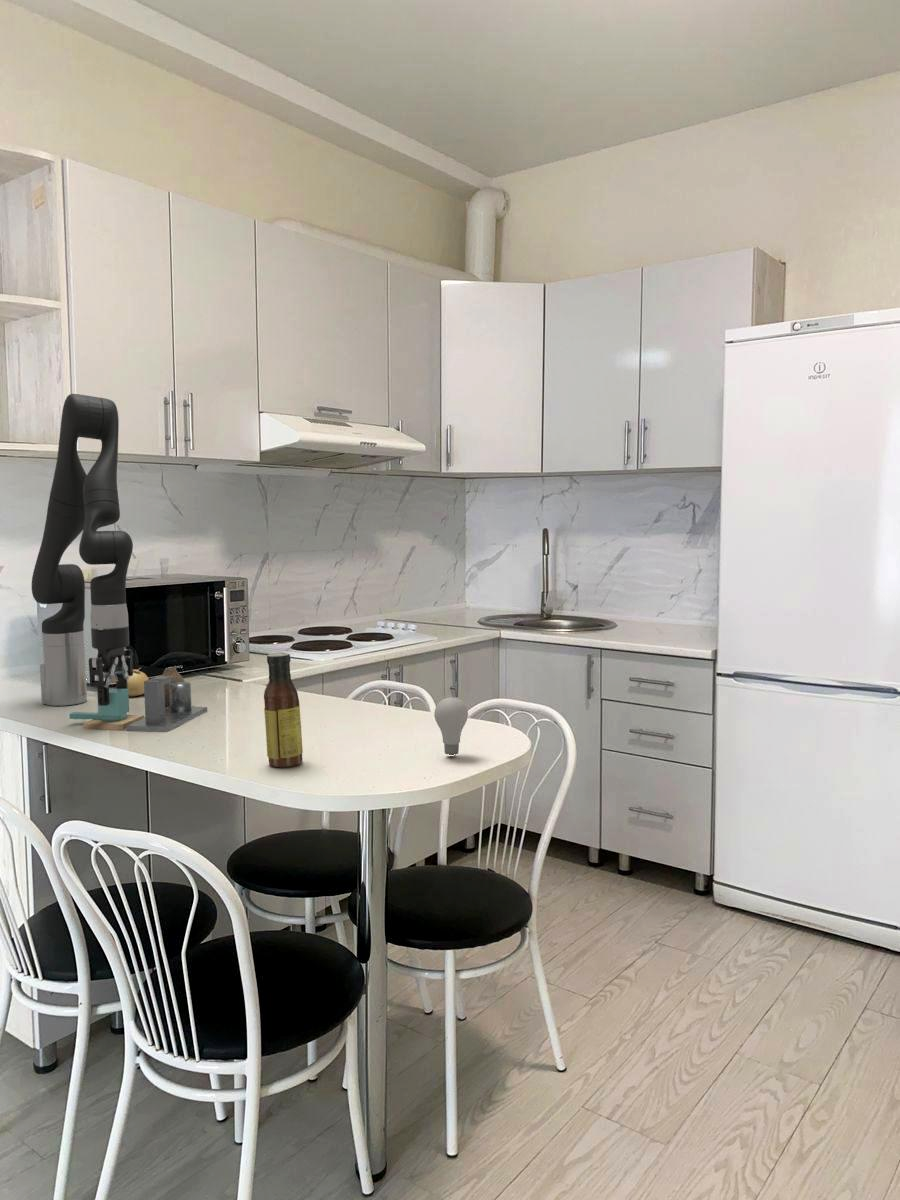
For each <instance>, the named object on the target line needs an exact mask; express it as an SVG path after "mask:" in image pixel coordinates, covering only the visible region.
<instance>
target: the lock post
mask: <svg viewBox="0 0 900 1200" xmlns="http://www.w3.org/2000/svg"><path fill="white" fill-rule="evenodd" d="M148 679H149V680H146V681H144V694H143V695H144V718H143V719H141V720H139V721H136V722H134V723H132V724H130V725H128V726H126V727H127V729H126V731H127V732H128V731H130V732H159V733H160V732H163V733H164V732H165V733H168V732H170V731H172V730H173V729H175V728H178V727H179V726H181V725H183V724H185V723H187V722H189V721H191V720H193V719H195V718H197V717H199V716H201V715H203V714H205V713H207V712H208V706H192V692H191V691H192V689H191V686H192V685H191V682H188V681H185V682H175V683H171V684H169V693H170V706H169V707H168V706H165V692H164V685H165V684H167V683H170V682H172V677H171V676H162V675H157V676H155V677H152V678H148Z"/></svg>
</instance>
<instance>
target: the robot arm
mask: <svg viewBox="0 0 900 1200" xmlns="http://www.w3.org/2000/svg"><path fill="white" fill-rule="evenodd" d="M119 421H120V420H119V411H118V408H117V405H116V403H115V402H114V401H113V400H111V399H109V398H106V397H105V398H104V397H98V396H94V395H93V396H92V395H85V394H79V393H70V394H68V395H67V396H66V398H65V401H64V402H63V406H62V412H61V419H60V428H59V440H58V447H57V448H58V450H57V457H56V463H55V467H54V468H55V469H54V473H53V479H52V483H51V488H50V492H49V498H48V502H47V503H48V504H47V510H46V516H45V517H46V518H45V523H44V524H45V525H44V528H43V529H44V530H43V534H42V538H41V539H42V540H41V544H40V548H39V552H38V554H37V557H36V561H35V565H34V569H33V572H32V576H31V594H32V598H33V599H34V600H35V602H36V603H38V604H41V605H55V604H56V605H58V604H61V608H60V609H59V611H58V612H56V613H55V614H53V615H52V616H49V617H48V618H45V619H44V620H42V623H41V637H42V639H41V640H42V655H43V657H42V658H43V663H41V664H40V665H39V671H40V672H39V674H40V693H41V704H42V705H47V706H71V705H77V704H83V703H86V702H87V701H88V691H87V672H86V670H87V669H86V653H85V651H86V650H85V649H86V647H85V633H84V622H85V617H86V616H85V615H86V607H85V605H86V584H85V576H84V572H83V570H82V569H81V567H80V566H78V565H77V564H73V563H72V564H71V563H69V564H68V563H66V564H62V563H61V564H60V562H61V560H62V557H63V555H64V553H65V552H66V550H67V549H68V548H69V546H70V545H71V544H72V543H73V542H74V541H75V540H76V539H77V538H78V537H79V535H80V534H81V537H80V541H79V546H78V547H79V548H78V551H79V552H78V553H79V556H80V559H81V560H82V561H83V562H84V563H85V564H87V565H90V566H91V565H92V566H93V565H94V566H96V565H114V568H113V569H112V571H111V572H109V573H106V574H103V575H98V576H94V577H93V578H91V579H90V584H89V585H90V586H89V587H90V588H89V589H90V604H91V605H90V631H91V632H90V635H91V639H90V640H91V647H92V648H93V649H96V650H97V655H96V657H90V658H89V659H88V671H89V672H88V673H89V685H90V687H93V688H96V689H97V690H96V691H97V692H98V698H97V705H98V704H99V705H100V706H107V705H109V704H110V701H109V688H110V687H109V685H110V681H111V679H113V678H114V677H115V679H116V681H115V684H116V685H115V686H116V687H117V688H116V689H128V687H127V681H128V680H129V676H132V675H133V670H134V661H133V657H134V656H133V654H134V653H133V649H131V648H128V647H129V645H130V629H129V627H130V626H129V612H128V607H127V606H128V605H127V592H126V587H127V586H126V585H127V583H126V582H127V574H128V569H129V565H130V561H131V557H132V554H133V550H134V544H133V540H132V538H131V536H130V534H129V533H128V532H126V531H123V530H99V531H98V529H101V528H103V527H107V526H112V525H114V524H116V523H117V522H118V521H119V519H120V518H121V511H120V501H119V492H118V476H117V475H118V473H117V472H118V458H119V455H118V454H119V431H120V430H119V427H120V426H119V425H120V424H119V423H120V422H119ZM79 438H82V439H83V438H84V439H91V440H99V441H100V442H101V450H100V452H99V454H98V457H97V459H96V461H95V462H94V464H93V465H92V467H91V468H90V469H89V470H88V471H89V472H87V473H86V471H85V469H84V467H83V465H82V462H81V459H80V457H79V453H78V440H79ZM117 680H118V681H117Z"/></svg>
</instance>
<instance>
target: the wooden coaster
mask: <svg viewBox="0 0 900 1200" xmlns="http://www.w3.org/2000/svg"><path fill="white" fill-rule="evenodd" d="M143 718H145V714H127V719H125V720H122V721H116V722H104V721H101V720H96V719H89V720H88V721H85V722H83V723H82V725H83V727H82V728H83V730H106V731H107V730H110V731H124V730H127V727H126V726H128V725H130V724H132V723H134V722H136V721H139V720H141V719H143Z"/></svg>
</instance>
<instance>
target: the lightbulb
mask: <svg viewBox="0 0 900 1200" xmlns="http://www.w3.org/2000/svg"><path fill="white" fill-rule="evenodd" d="M468 711H469V709H468V707H467V706H466V704H465V702H464V701H463V700H461V699H460V698H458V697H446V698H443V699H441V700H440V701H439V702H438V703H437V704H436V706H435V709H434V712H433V713H434V719H435V722H436V724H437V726H438V727H439V729H440V732H441V735H442V743H443V745H444V747H443V748H444V753H445V755H446V754H449V755H454V754H457V755H458V754H459V751H460V750H459V748H460V742H461V736H462V731H463V729H464V727H465V725H466V723H467V721H468V718H469V717H468V716H469V712H468Z"/></svg>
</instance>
